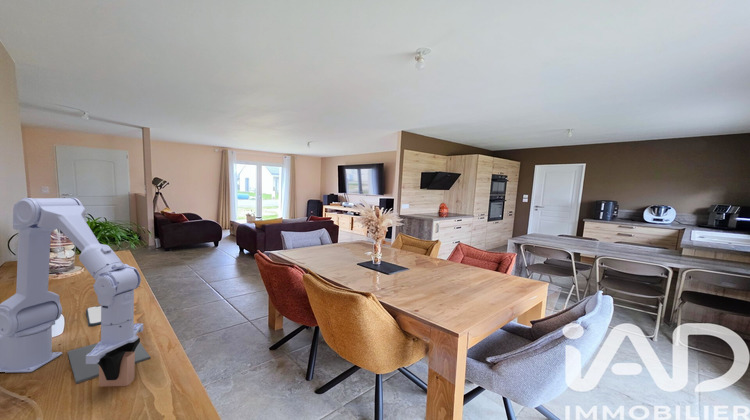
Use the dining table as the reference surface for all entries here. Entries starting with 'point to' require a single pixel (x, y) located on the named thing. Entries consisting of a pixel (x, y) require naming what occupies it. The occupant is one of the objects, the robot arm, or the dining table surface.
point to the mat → (92, 370)
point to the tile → (121, 372)
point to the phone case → (93, 316)
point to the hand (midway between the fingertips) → (117, 374)
